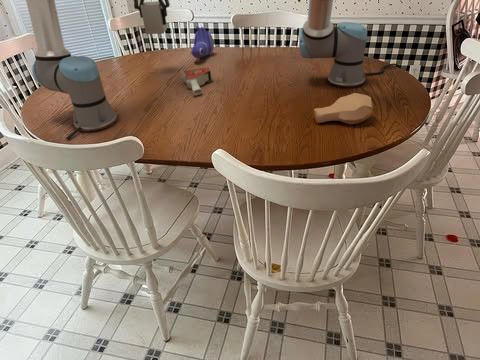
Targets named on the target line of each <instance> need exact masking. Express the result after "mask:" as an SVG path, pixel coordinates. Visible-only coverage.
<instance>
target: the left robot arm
mask: <svg viewBox="0 0 480 360" xmlns="http://www.w3.org/2000/svg"><path fill="white" fill-rule="evenodd" d="M157 1H159V3H160V4H161V6H162V9H161V11H162V17H163V23H164V25H166V26H167V19H166V18H167V16H168V10H167V8H169V7H170V6H171V5H170V1H169V0H157ZM144 2H145V0H133V6H134V7H133V8H134V9H135V10H138V11H139V17H140V19H143V17H142V11H141V5H142V4H143V3H144ZM25 3H26V7H27V12H28V15H29V18H30V23H31V28H32V31H33V35H34V39H35V43H36V47H37V49H36V51H35V52H34V55H33V56H34V59H35V60H34V61H33V64H32V67H31V72H32V76H33V78H34V80H35V81H36V83H37V84H38V85H40V86H41V87H43V88H44V89H47V90H49V91H51V92H58V93H63V94H67V95H68V96H69V99H70V101H71V104H72V108H73V114H72V117H73V118H72V119H73V125H74V128H75V129H74V130H73V131H72V132H70V133H69V135H67V136H66V139H67V140H70V139H71V138H72V137H74V136H75V135H76V134H77V133H78V132H84V133H92V132H99V131H102V130H105V129H107V128H110V127H111V126H113V125H115V124H116V122H117V121H118V116H117V113H116V111H115V110H114V108H113V107H112V105H111V103H110V102H109V101H108V99H107V96H106V92H105V89H104V87H103V86H104V85H103V83H102V79H101V74H100V70H99V68H98V66H97V63H96V62H95V60H94V59H92V58H91V57H89V56H85V55H72V54H71V51H70V50H69V49H67V48H66V46H65V42H64V38H63V33H62V29H61V24H60V19H59V18H60V17H59V14H58V10H57V4H56V0H25Z"/></svg>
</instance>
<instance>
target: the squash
mask: <svg viewBox="0 0 480 360" xmlns="http://www.w3.org/2000/svg"><path fill="white" fill-rule="evenodd" d="M373 111H374V104H373V100H372V97H371V96H369V95H366V94H364V93H363V94H362V93H357V92H353V93H351V94H348V95H345V96H341V97H338V99H337V100H335V102H334V103H332V104H331V105H330V106H325V107H316V108H314V109H313V116H314V118H315V122H316V123H317V124H320V123H325V122H332V121H336V122H339V121H340V122H341V123H343V124H344V123H345V124H347V125H356V124H361V123H363V122H365V121H367V120H368V119H370V118H371V116H372V115H373Z"/></svg>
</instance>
